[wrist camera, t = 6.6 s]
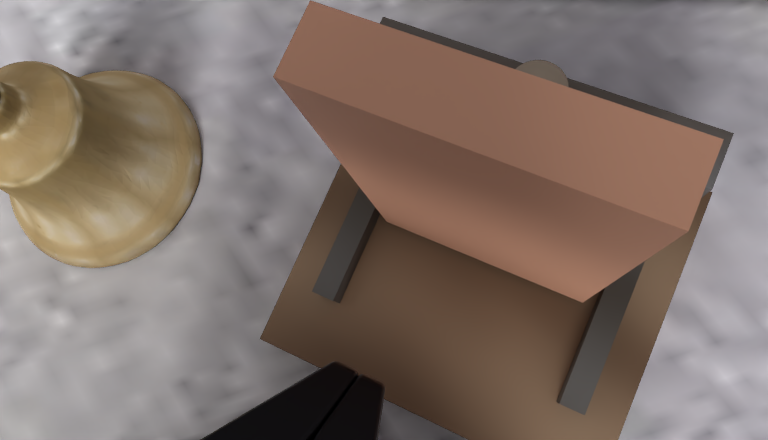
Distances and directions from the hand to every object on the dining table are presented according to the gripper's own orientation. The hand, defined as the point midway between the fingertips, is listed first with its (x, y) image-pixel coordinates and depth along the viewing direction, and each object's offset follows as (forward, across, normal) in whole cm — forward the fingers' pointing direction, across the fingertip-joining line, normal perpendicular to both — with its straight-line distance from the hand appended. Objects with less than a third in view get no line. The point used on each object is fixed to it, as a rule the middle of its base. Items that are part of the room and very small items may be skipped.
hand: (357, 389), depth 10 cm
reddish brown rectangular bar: (+12, 0, +5) cm, 13 cm away
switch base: (+12, 0, +7) cm, 14 cm away
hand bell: (+11, +16, +8) cm, 21 cm away
